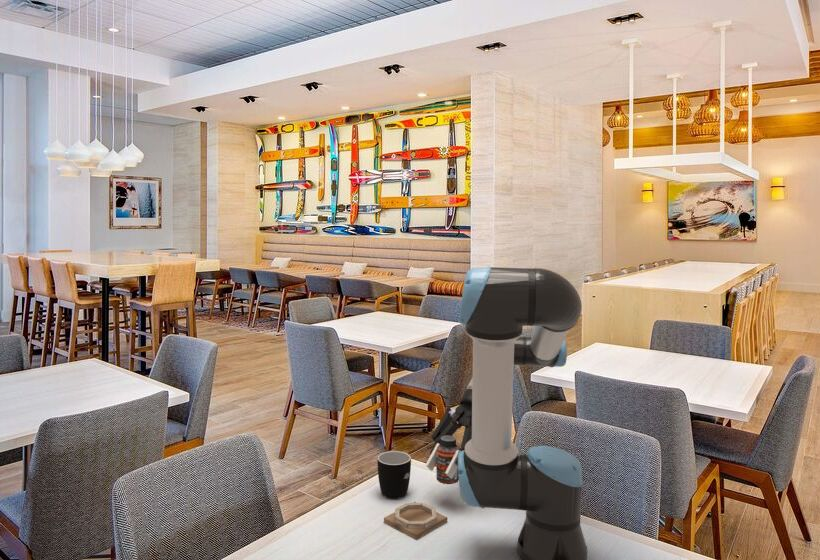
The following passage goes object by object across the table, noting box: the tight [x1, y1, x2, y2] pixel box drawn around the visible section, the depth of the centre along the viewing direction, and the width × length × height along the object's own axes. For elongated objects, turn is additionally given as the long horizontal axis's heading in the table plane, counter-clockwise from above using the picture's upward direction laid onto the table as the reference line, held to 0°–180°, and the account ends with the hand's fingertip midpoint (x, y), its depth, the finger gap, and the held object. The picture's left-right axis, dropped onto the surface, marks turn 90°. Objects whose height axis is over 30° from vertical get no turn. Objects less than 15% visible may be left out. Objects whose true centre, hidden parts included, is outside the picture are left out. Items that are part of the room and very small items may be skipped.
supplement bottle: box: [435, 435, 460, 485], centre depth 150 cm, size 6×6×11 cm
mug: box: [377, 450, 412, 500], centre depth 158 cm, size 12×9×10 cm
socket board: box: [383, 501, 448, 540], centre depth 143 cm, size 11×11×2 cm
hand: (438, 471), depth 148 cm, fingers closed on supplement bottle, 6 cm apart
